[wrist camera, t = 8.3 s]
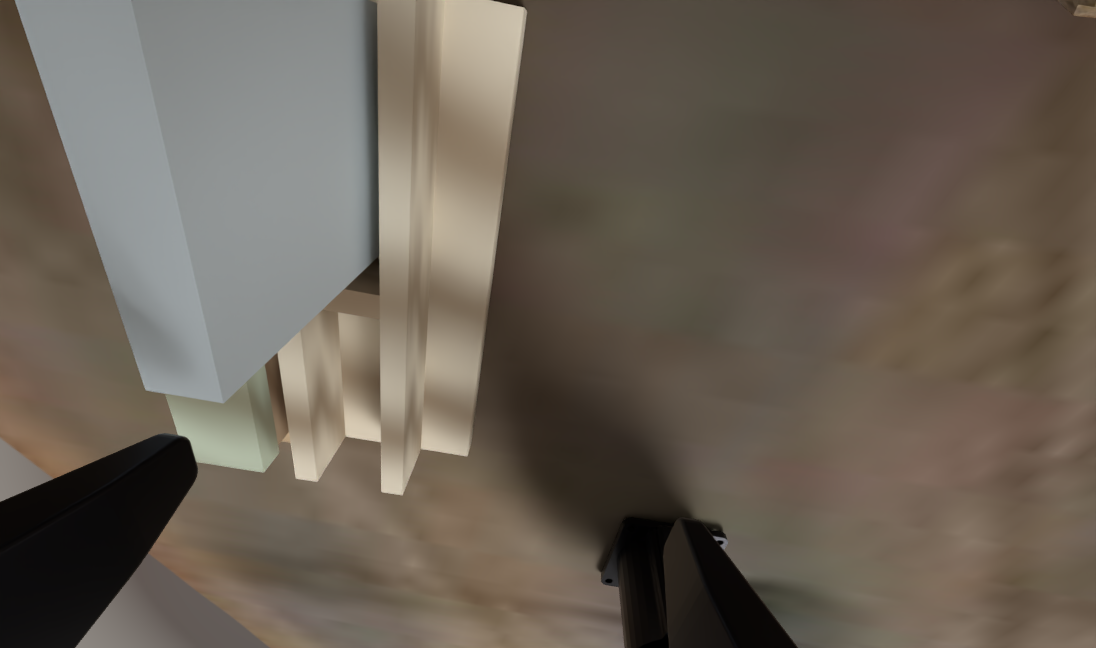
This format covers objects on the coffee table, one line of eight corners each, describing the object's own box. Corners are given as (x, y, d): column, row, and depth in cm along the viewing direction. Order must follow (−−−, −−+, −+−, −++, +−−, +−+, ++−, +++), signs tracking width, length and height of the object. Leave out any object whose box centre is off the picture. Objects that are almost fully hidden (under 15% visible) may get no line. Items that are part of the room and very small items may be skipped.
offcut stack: (310, 427, 23) (270, 482, 20) (233, 414, 23) (180, 468, 20) (292, 270, 19) (237, 309, 16) (196, 253, 19) (121, 289, 16)
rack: (471, 442, 25) (454, 503, 21) (213, 400, 24) (153, 456, 20) (527, 11, 15) (513, -8, 11) (94, -82, 14) (-60, -133, 11)
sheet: (390, 244, 18) (223, 403, 9) (351, 237, 18) (146, 390, 9) (392, 8, 14) (109, -96, 5) (342, -3, 14) (-28, -125, 5)
